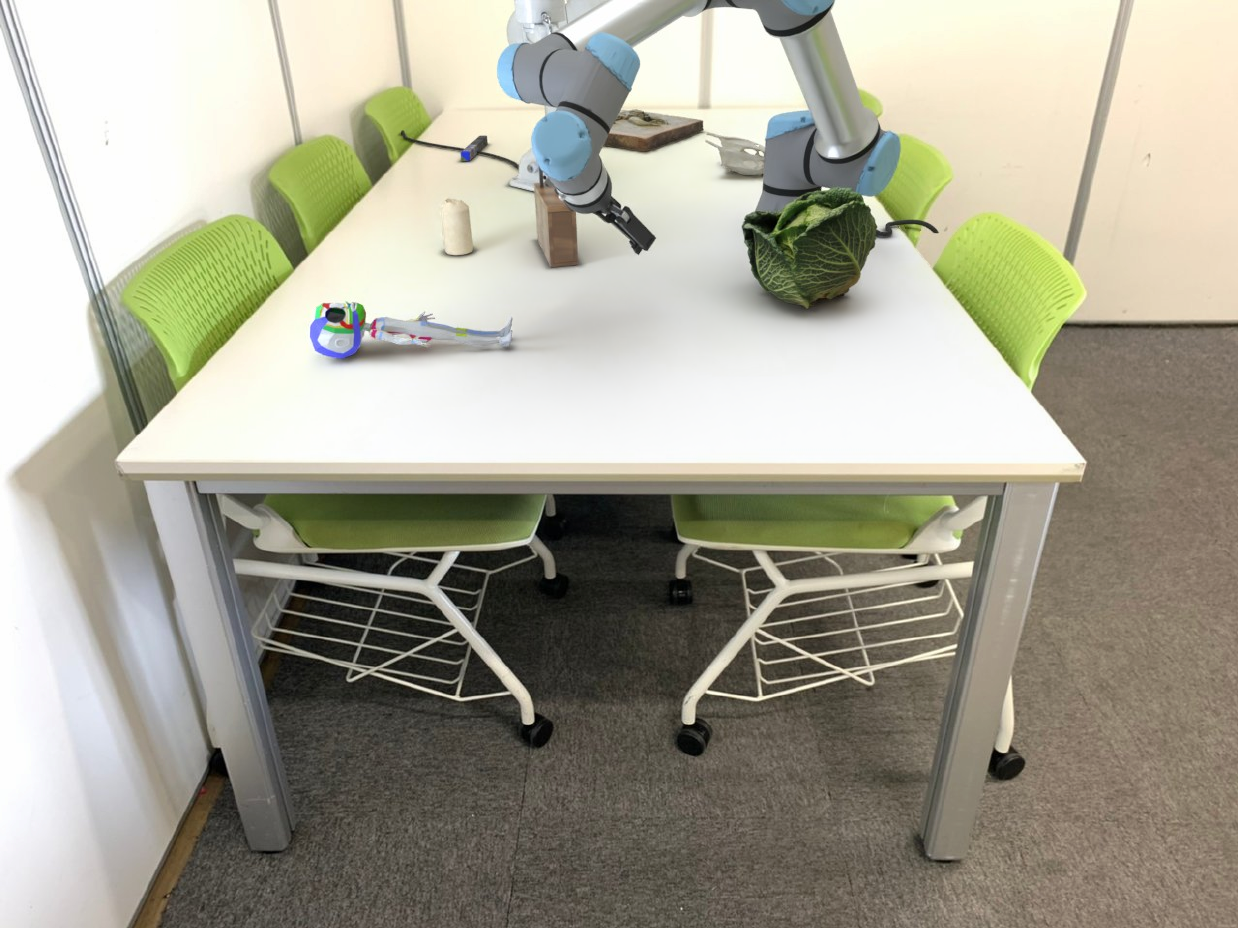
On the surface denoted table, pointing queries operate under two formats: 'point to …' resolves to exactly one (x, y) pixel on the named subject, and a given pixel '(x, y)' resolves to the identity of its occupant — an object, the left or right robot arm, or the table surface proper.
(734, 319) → the table surface
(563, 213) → the chest
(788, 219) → the vegetable
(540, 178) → the lid
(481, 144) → the grey square bar
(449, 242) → the candle
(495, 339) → the toy
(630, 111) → the plaque
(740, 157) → the anatomical model
